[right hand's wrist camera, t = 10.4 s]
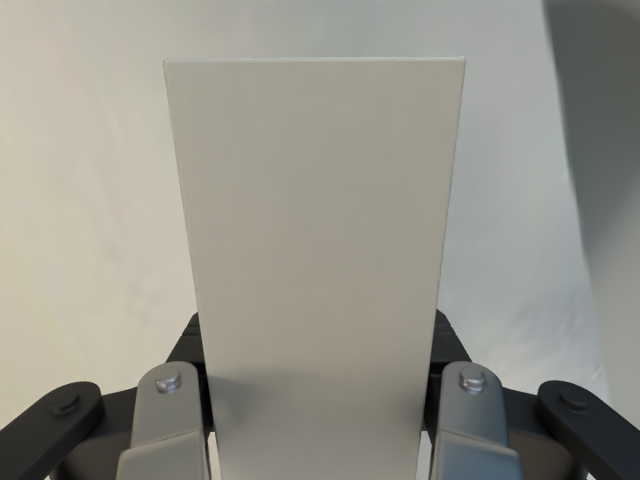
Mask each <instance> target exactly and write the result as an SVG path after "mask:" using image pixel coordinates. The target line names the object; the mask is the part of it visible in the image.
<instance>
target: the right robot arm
mask: <svg viewBox="0 0 640 480" xmlns="http://www.w3.org/2000/svg"><path fill="white" fill-rule="evenodd" d="M422 431H427V432H428V435H429V438H430V441H431V444H432V447H431V454H430V464H429V474H428V480H587V479H586V478H587V475H588V473H590V474H591V475H592V476H593V477H594V478H595V479H596V480H640V431H639V430H638V429H637V428H636V427H634V426H633V425H632V424H631V423H629V422H628V421H627V420H626V419H624V418H623V417H622V416H621V415H619V414H618V413H617V412H616V411H614V410H613V409H612V408H611V407H609V406H608V405H607V404H606V403H604V402H603V401H602V400H601V399H599V398H598V397H597V396H596V395H594V394H593V393H591V392H590V391H588V390H586V389H584V388H582V387H580V386H578V385H575V384H572V383H569V382H565V381H558V380H552V381H547V382H544V383H542V384H541V385H540V387H539V389H538V393H537V395H533V394H529V393H524V392H520V391H516V390H511V389H508V388H504V387H502V384H501V382H500V380H499V378H498V377H497V376H496V375H495V374H494V373H493V372H492V371H490V370H489V369H487V368H485V367H483V366H481V365H479V364H476V363H472V361H471V359H470V357H469V356H468V354H467V352H466V350H465V349H464V347H463V345H462V344H461V342H460V340H459V338H458V337H457V335H456V333H455V332H454V330H453V328H452V327H451V325H450V323H449V321H448V319H447V318H446V316H445V315H444V314H443V313H442V312H440V311H439V310H438V309H436V315H435V323H434V331H433V340H432V348H431V356H430V365H429V373H428V381H427V389H426V398H425V406H424V414H423V423H422ZM210 432H215V428H214V421H213V414H212V407H211V400H210V393H209V386H208V379H207V372H206V365H205V358H204V351H203V344H202V336H201V329H200V322H199V315H198V312H197V313H196V314H194V315H193V316H192V318H191V320H190V322H189V323H188V325H187V327H186V328H185V330H184V332H183V333H182V336H181V337H180V338H179V340H178V342H177V344H176V345H175V347H174V349H173V350H172V352H171V354H170V355H169V357H168V359H167V361H166V362H165V363H164V364H161V365H159V366H157V367H155V368H153V369H151V370H150V371H148V372H147V373H146V374H145V375H144V376H143V377H142V378H141V380H140V382H139V384H138V386H137V387H134V388H132V389H128V390H124V391H120V392H116V393H111V394H107V395H101V391H100V388H99V387H98V386H97V385H96V384H94V383H92V382H86V381H84V382H74V383H70V384H67V385H64V386H61V387H59V388H57V389H55V390H53V391H51V392H49V393H48V394H46V395H45V396H43V397H42V398H41V399H39V400H38V401H37V402H36V403H34V404H33V405H32V406H31V407H29V408H28V409H27V410H26V411H24V412H23V413H22V414H21V415H19V416H18V417H17V418H16V419H14V420H13V421H12V422H11V423H9V424H8V425H7V426H6V427H4V428H3V429H2V430H1V431H0V480H44V479H45V478H46V477H47V476H48V475H49V477H50V480H212V474H211V464H210V454H209V446H208V437H209V434H210Z"/></svg>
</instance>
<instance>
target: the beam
mask: <svg viewBox="0 0 640 480" xmlns="http://www.w3.org/2000/svg"><path fill="white" fill-rule="evenodd" d="M465 67H466V59H465V58H464V57H462V56H406V57H278V58H167V59H165V60H164V61H163V68H164V75H165V82H166V89H167V96H168V103H169V110H170V117H171V124H172V131H173V138H174V145H175V153H176V160H177V167H178V174H179V181H180V188H181V195H182V202H183V209H184V216H185V223H186V230H187V237H188V244H189V252H190V259H191V266H192V273H193V280H194V287H195V294H196V301H197V308H198V315H199V322H200V329H201V336H202V344H203V351H204V358H205V365H206V372H207V379H208V386H209V393H210V400H211V407H212V414H213V421H214V428H215V435H216V443H217V450H218V457H219V464H220V471H221V478H222V480H416V472H417V464H418V456H419V447H420V439H421V431H422V423H423V414H424V406H425V398H426V389H427V381H428V373H429V365H430V356H431V348H432V340H433V331H434V323H435V315H436V307H437V298H438V290H439V282H440V273H441V265H442V257H443V249H444V240H445V232H446V224H447V216H448V207H449V199H450V191H451V182H452V174H453V166H454V158H455V149H456V141H457V133H458V124H459V116H460V108H461V100H462V91H463V83H464V75H465Z"/></svg>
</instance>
